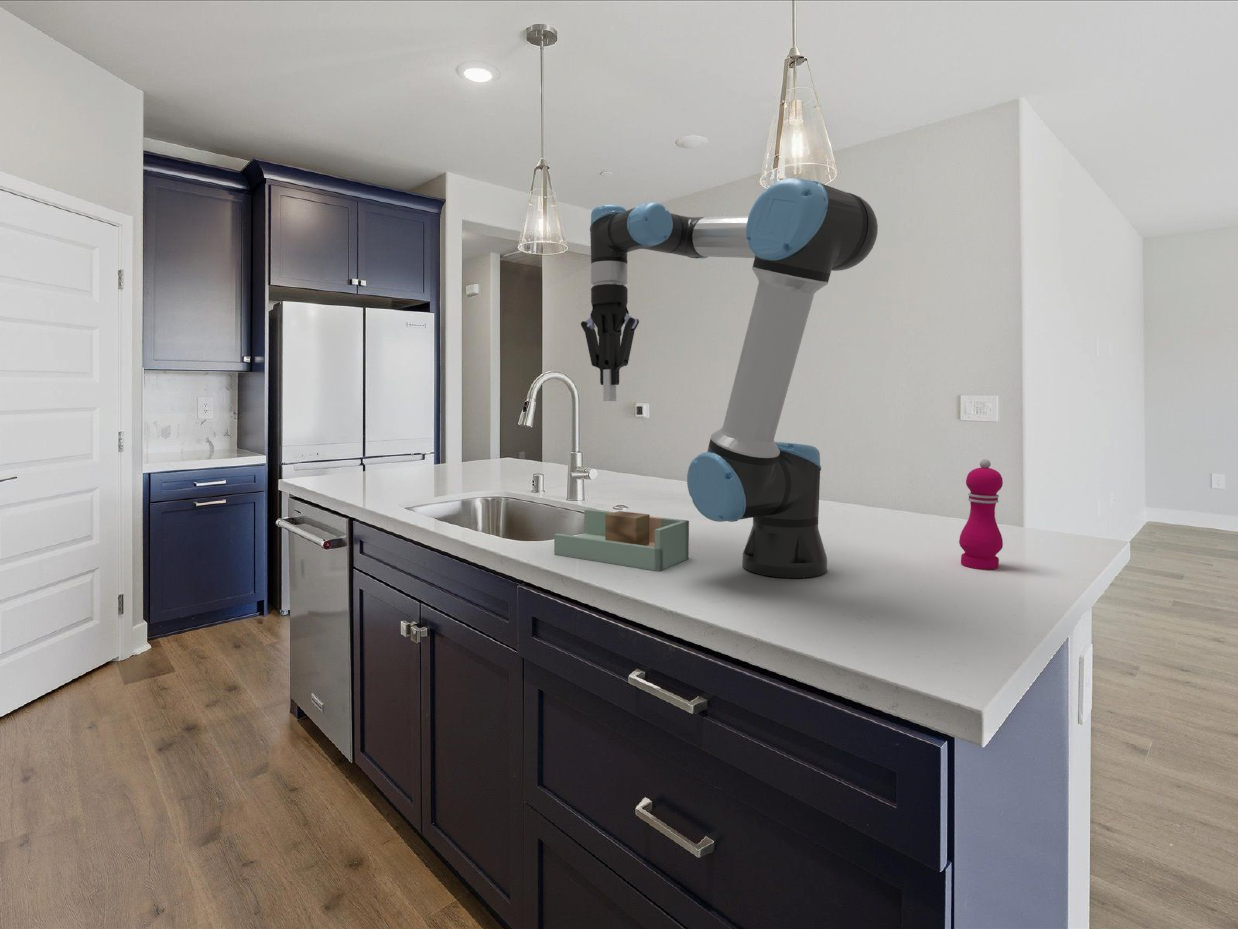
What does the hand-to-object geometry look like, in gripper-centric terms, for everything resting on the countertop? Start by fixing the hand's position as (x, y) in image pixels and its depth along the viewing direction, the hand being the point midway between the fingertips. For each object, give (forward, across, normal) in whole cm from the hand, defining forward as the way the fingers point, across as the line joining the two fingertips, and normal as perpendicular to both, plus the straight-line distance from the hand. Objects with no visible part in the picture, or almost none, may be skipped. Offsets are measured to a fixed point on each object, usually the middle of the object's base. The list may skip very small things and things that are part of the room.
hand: (609, 401), depth 142 cm
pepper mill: (+31, -69, -20) cm, 78 cm away
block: (+28, -9, +8) cm, 31 cm away
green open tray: (+31, -7, +8) cm, 32 cm away
